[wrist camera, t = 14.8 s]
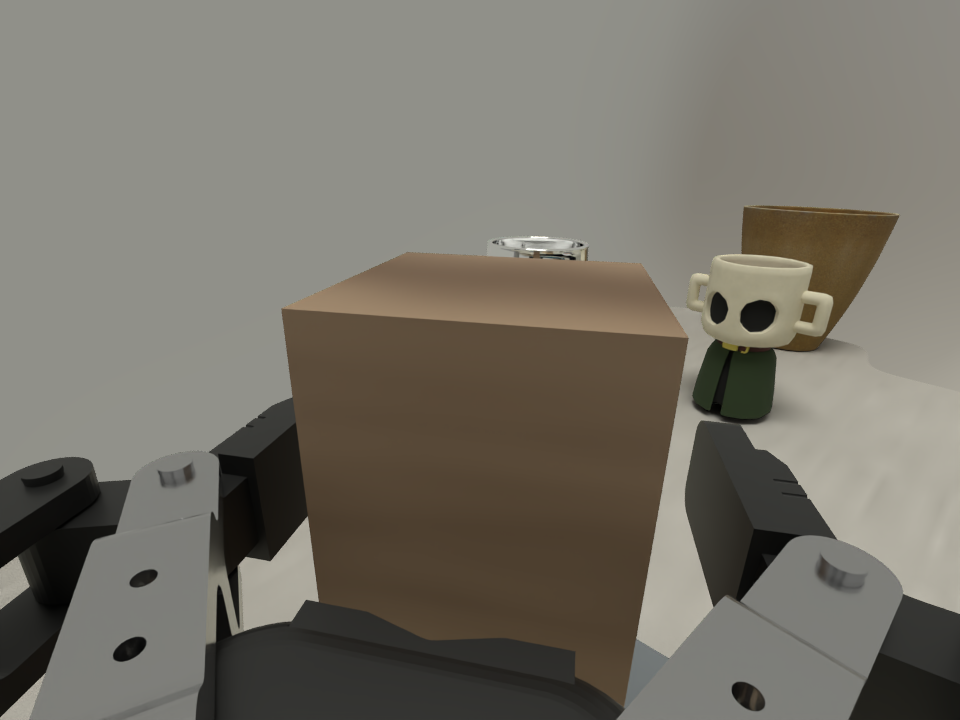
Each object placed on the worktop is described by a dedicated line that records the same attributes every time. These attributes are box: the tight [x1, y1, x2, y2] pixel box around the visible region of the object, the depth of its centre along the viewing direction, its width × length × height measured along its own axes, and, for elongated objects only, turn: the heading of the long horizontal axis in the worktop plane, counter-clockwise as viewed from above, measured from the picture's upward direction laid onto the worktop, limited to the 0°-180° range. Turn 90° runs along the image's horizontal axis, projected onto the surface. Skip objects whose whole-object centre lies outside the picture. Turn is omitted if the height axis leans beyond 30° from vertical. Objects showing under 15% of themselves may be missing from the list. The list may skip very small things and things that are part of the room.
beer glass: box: [487, 236, 589, 261], centre depth 35 cm, size 7×7×15 cm
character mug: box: [686, 254, 833, 419], centre depth 42 cm, size 11×7×13 cm, turn 42°
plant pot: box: [742, 205, 899, 351], centre depth 59 cm, size 15×15×16 cm
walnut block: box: [282, 252, 688, 707], centre depth 11 cm, size 5×5×16 cm
